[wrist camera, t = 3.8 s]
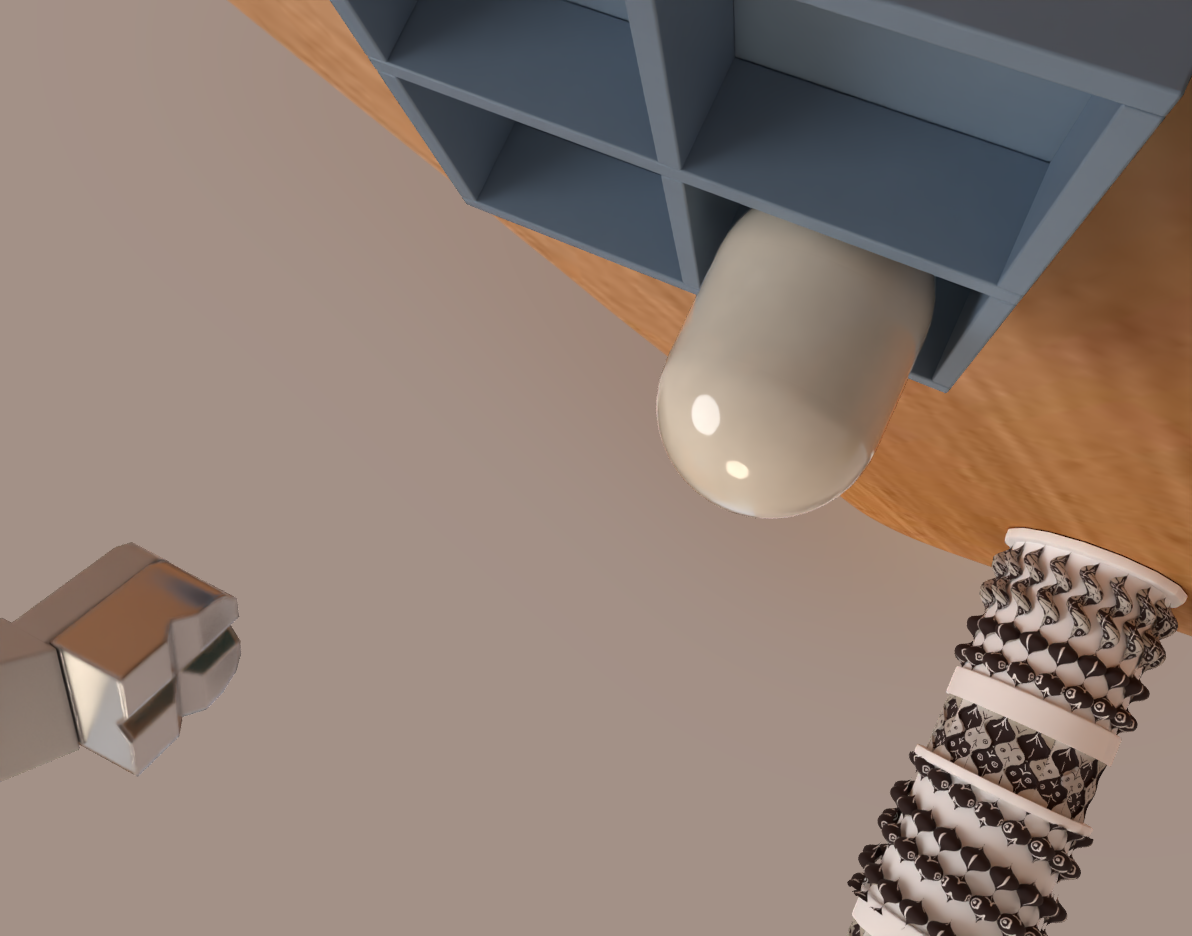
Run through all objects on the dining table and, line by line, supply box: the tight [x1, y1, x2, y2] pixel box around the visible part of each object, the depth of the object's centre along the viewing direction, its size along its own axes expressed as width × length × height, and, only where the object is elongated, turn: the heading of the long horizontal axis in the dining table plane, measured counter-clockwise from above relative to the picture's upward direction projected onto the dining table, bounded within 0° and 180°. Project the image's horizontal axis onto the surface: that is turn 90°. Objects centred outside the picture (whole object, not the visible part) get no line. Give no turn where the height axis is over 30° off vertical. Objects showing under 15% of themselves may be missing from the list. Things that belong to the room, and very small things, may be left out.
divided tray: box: [330, 0, 1192, 393], centre depth 19 cm, size 14×14×3 cm
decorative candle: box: [847, 528, 1187, 936], centre depth 47 cm, size 9×9×25 cm
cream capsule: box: [656, 208, 936, 519], centre depth 21 cm, size 5×5×8 cm
